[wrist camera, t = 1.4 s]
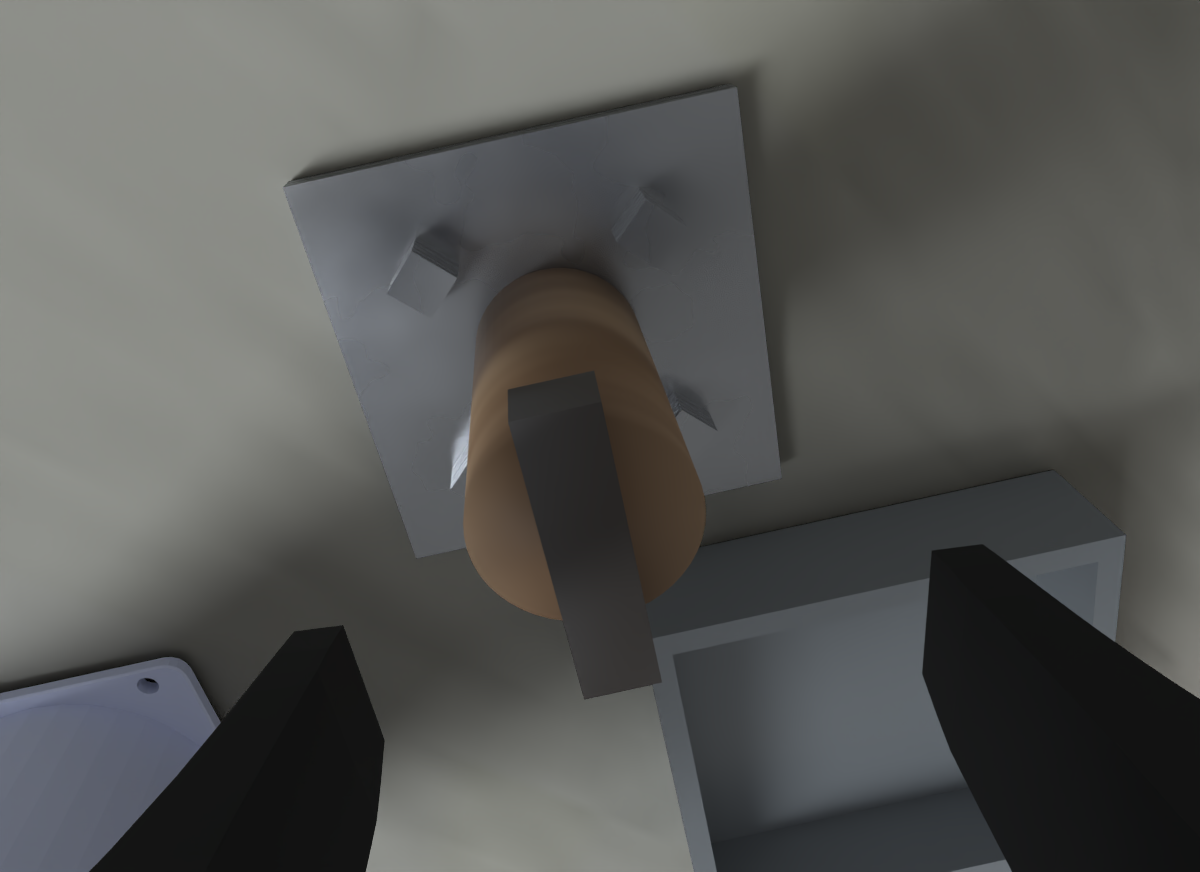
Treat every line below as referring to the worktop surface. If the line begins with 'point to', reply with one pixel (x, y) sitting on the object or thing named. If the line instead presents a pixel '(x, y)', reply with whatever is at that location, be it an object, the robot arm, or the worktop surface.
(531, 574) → the brown wooden cylinder
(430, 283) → the plate
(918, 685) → the bin
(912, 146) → the worktop surface
